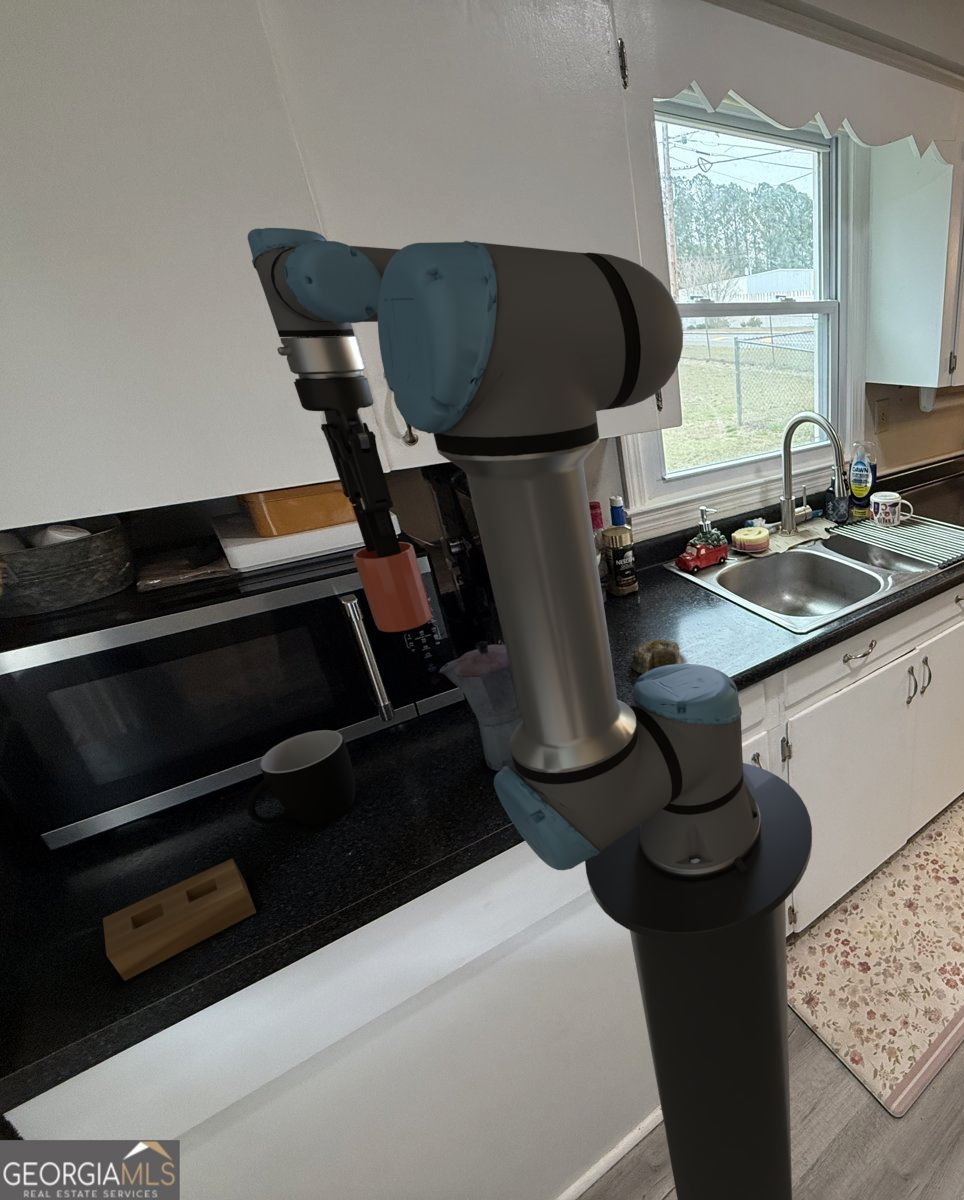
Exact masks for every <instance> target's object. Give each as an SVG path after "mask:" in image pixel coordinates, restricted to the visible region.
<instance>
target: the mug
mask: <svg viewBox="0 0 964 1200" xmlns="http://www.w3.org/2000/svg"><path fill="white" fill-rule="evenodd" d="M259 768H260V770H261V773H262V775H263V779H262V781H261V782H260V783H258V784H257V785H256V786H255V788H254V789H253V790H252V791H251V792H250V795H249V796H248V798H247V801H246V811H247V814H248V816H249V817H250V818H251V819H252V820H253V821H254V822H256V823H259V824H263V825H273V824H279V823H282V822H285V821H288V820H295V821H297V822H298V823H300V824H302V825H308V826H314V825H320V824H324V823H326V822H330V821H332V820H334V819H336V818H338V817H340V816H341V815H343V814H344V813H346V812H347V811H348V810H349V809H350V808H351V807H352V805H353V803H354V802H355V798H356V780H355V775H354V774H355V773H354V770H353V765H352V761H351V757H350V754H349V750H348V747H347V744H346V741H345V739H344V737H343V736H342V734H341V733H340V732H337V731H335V730H330V729H329V730H328V729H323V730H322V729H321V730H314V731H313V730H312V731H308V732H304V733H302V734H298V735H294V736H292V737H290V738H288V739H285V740H284V741H282V742H280V743H278V744H277V745H274V746H273V747H272V748H270V749H269V750H268V751H266V752H265V754H264V755H263V756H262V758H261V760H260V762H259ZM267 789H270V790H271V791H272V793H273V794H274V796H275V798H277V800H278V802H279V803H280V804H281V805H282V807H283V809H284V811H283V812H282V813H281V814H278V815H276V816H273V817H272V816H271V817H263V816H261V815H259V814H258V813H257V811H256V803H257V800H258V798H259V796H260V795H261V794H262V793H263V792H264V791H265V790H267Z"/></svg>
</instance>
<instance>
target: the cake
mask: <svg viewBox="0 0 964 1200" xmlns="http://www.w3.org/2000/svg"><path fill="white" fill-rule="evenodd" d="M632 653H633V655H632V663H631V668H632V670H633V671H635V672H637V673H639V674H642V675H643V674H644V673H646V672H647V671H650V670H652V669H655V668H658V667H661V666H666V665H672V664H684V658H683V656H682V655H680V647H679V644H678V643H677V642H676V641H672V640H669V639H655V640H648V641H645V642H642V643H641V644H639V645H636V646H635V648H634V649H633V652H632Z"/></svg>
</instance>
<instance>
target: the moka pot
mask: <svg viewBox="0 0 964 1200" xmlns="http://www.w3.org/2000/svg"><path fill="white" fill-rule="evenodd" d="M475 647H476V649H473V650H471V651H470V650H469V651H467V652H465V653H464V654H462V655H461V656H460V657H459V658H457V659H453V660H451V661H448V662H447V663H445V665H443V666H442V667H440V669H439V671H438V674H442V675H445V677H446V678H447V679H448V680H450V681H451V682H452V683H453V684H454V685H455V686H456V687H457V689H459V690H460V691H461V692H462V693H463V695H464V696H465V698H466V700H467V702H468V704H469V706H470V708H471V710H472V712H473V713H474V714H475V718H476V719H477V721H478V726H479V727H478V728H479V731H480V738H481V743H482V749H483V755H484V759H485V762H486V765H487V767H488V768H489V769H491V770H494V771H498V772H499V771H501V770H502V769H503V767H505V766H510V765H512V764H514V763H513V759H512V755H511V751H510V739H511V735H512V734H513V732H514V730H515V728H516V727H517V726H518V725H519V724H520V722H521V721H522V717H521V713H520V708H519V704H518V700H517V695H516V691H515V686H514V682H513V678H512V673H511V669H510V664H509V660H508V656H507V651H506V647H505V644H490V645H489V644H488V641H487V640H483V641H478V642H477V643H475Z"/></svg>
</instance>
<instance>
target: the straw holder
mask: <svg viewBox="0 0 964 1200" xmlns="http://www.w3.org/2000/svg"><path fill="white" fill-rule="evenodd" d="M256 913H257V910H256V907H255V904H254V902H253V899H252V896H251V893H250V891H249V888H248V885H247V882H246V880H245V879H244V876H243V875H242V873H241V871H240V869H239V867H238V865H237V863H236V861H235V859H234V858H232V857H231V858H229V859H228V860H225V861H223V862H221V863H219V864H217V865H215V866H212V867H210V868H208V869H205V870H204V871H202V872H200V873H198V874H196V875H193V876H191V877H189V878H187V879H184V880H182V881H180V882H178V883H176V884H174V885H172V886H170V887H167V888H166V889H163V890H161V891H159V892H157V893H153V894H152V895H150V896H148V897H146V898H144V899H142V900H140V901H137V902H135V903H133V904H130V905H128V906H126V907H124V908H122V909H120V910H118V911H115V912H114V913H111V914H109V915H107V916H105V917H103V918H102V924H103V933H104V944H105V954H106V957H107V959H108V960H109V961H110V963H111V965H112V966H113V967H114V968H115V969H116V972H118V974H119V975H120V978H122V980H123V981H124V982H125V981H128V980H130V979H132V978H134V977H135V976H137V975H139V974H141V973H143V972H145V971H147V970H149V969H151V968H153V967H155V966H157V965H159V964H161V963H162V962H164V961H166V960H168V959H170V958H172V957H174V956H176V955H177V954H180V953H182V952H183V951H186V950H187V949H189V948H191V947H193V946H195V945H197V944H199V943H201V942H202V941H204V940H207V939H209V938H210V937H213V936H215V935H216V934H218V933H220V932H222V931H223V930H225V929H228V928H230V927H231V926H233V925H235V924H238V923H240V922H241V921H243V920H244V919H247V918H248V917H250V916H252V915H255V914H256Z"/></svg>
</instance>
